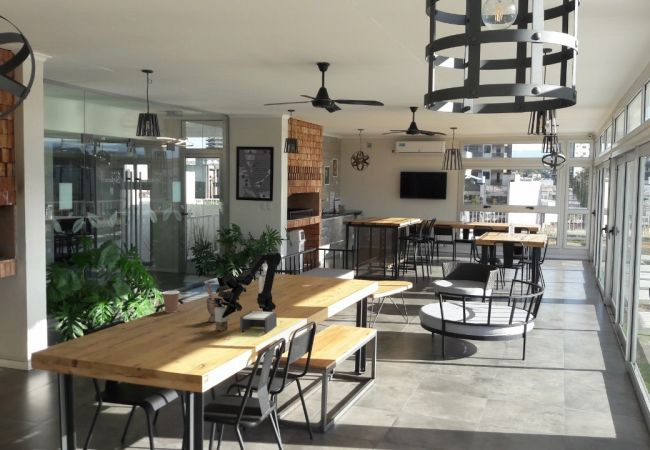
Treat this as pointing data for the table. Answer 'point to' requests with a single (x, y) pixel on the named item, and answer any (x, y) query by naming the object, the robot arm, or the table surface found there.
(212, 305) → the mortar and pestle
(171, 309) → the coffee cup
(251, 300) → the table surface
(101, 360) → the table surface
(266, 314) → the trapdoor
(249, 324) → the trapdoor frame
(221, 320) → the grey rectangular block
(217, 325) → the stand
